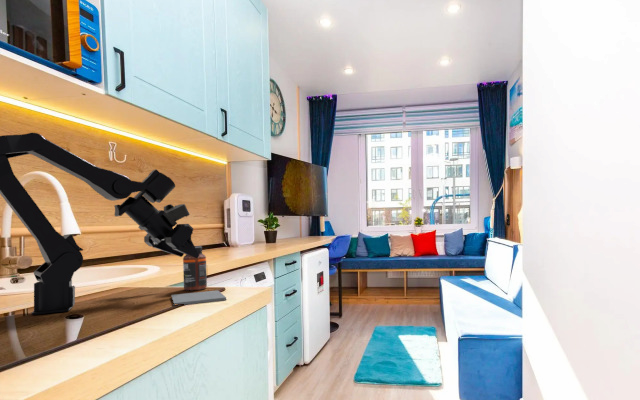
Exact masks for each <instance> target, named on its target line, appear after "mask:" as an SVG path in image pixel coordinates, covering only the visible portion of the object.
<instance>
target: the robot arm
mask: <svg viewBox="0 0 640 400" xmlns="http://www.w3.org/2000/svg"><path fill="white" fill-rule="evenodd" d="M26 155H33V156H34V157H36V158H37V159H38V158H39V159H40V160H43V162H47V163H48V164H50V165H52V166H54V167H56V168H57V169H60V170H62V171H63V172H66V173H68V174H69V175H70V176H71V175H72V176H73V177H76V178H77V179H79V180H81V181H83V182H84V183H85V184H86V185H89V187H90V188H92V190H93V191H95V192H96V193H97V194H99V195H100V196H102V198H104V199H105V200H108V201H113V202H115V201H119V200H124V199H125V200H124V201H123V202H122V203H121V204H114V217H121V216H122V215H124V214H126V215H127V216H128V217H129V218H131V220H133V221H134V222H135V223H136V224H137V225H138V227H137V228H138V229H139V230H141V231H144V232H146V234H145V236H144V237H143V238H144V239H143V242H144V243H145V244H146V245H148V247H152V248H153V249H157V250H160V251H162V252H166V253H169V254H171V255H175V256H177V257H180V258H182V257H184V256H185V255H186V254H187V255H189V256H191V257H194V258H198V257H199V253H198V252H197V250H196V248H195V247H196V246H195V244H194V242H193V241H192V235H193V233H194V232H193V231H194V228H193V227H192V226H191V225H190V224H189V223H178V222H177V221H179V220H181V219H183V218H185V217H186V218H187V217H189V216H190V212H189V210H188V208H187V205H186V204H185V203H181V204H177V205H173V204H171V203H170V204H167V205H165V206H163V210H162V209H160V210H159V209H158V208H156V207H155V206H154V205H153V204H155V202H156V203H161V202H162V201H163V200H164V199H165V198H166V197H167V196H168V195H169V194H170V193H171V192H172V191H173V190H174V189H175V188H176V184H175V182H174V181H173V179H172V178H170V176H167V175H166V174H164V173H163V172H160V171H159V170H158V169H153V170H151V171H150V172H149V173H148V175H147V177H145V178H144V179H143V180H142V181H136V180H132V179H131V178H129V176H126V175H124V174H121V173H118V172H115V171H113V170H110V169H105V168H102V167H98V166H97V165H95V164H92V163H91V162H89V161H87V160H85V159H84V158H81V157H79V156H78V155H76V154H74V153H72V152H71V151H69V150H67V149H65V148H63V147H62V146H60V145H58V144H56V143H54V142H53V141H50V140H49V139H47V138H45V137H44V136H43V135H42V134H40V133H38V132H28V133H25V134H24V133H23V134H6V135H0V195H1V197H2V198H3V199H4V201H5V202H6V203H7V205H8V206H9V208H10V209H11V210H12V211H13V212H14V214H15V215H16V216H17V218H18V219H19V220H20V222H22V224H23V226H24V227H25V228H26V230H28V232H29V233H30V234H31V236H32V237H33V238H34V240H35V241H36V243H37V246H38V248H39V251H40V254H41V257H42V258H43V260H44V262H43V263H42V264H41V265H40V266H39V267H38V268H36V269H35V270H34V272H33V275H34V277H35V279H36V282H35V283H33V311H32V312H31V315H32V316H34V315H44V314H54V313H63V312H64V313H65V312H69V311H70V310H71V309H72V308H73V307H74V306H75V305H76V286H75V285H73V276H74V274H75V272H77V271H78V270H79V269H80V268H81V267H82V265H83V263H84V256H83V254H82V252H83V251H84V249H83V248H81V247H80V246H79V245H78V244H77V242H76V240H75V238H74V236H73V235H72V234H63V235H62V234H60V233H59V232H58V231H57V230H56V229H55V227H54V226H53V225H52V223H51V222H50V221H49V219H48V218H47V217H46V216H45V214H44V213H43V211H42V210H41V209H40V207H39V206H38V205H37V204H36V202H35V201H34V199H33V198H32V196H31V195H30V194H29V193H28V192H27V190H26V189H25V187H24V186H23V184H22V183H21V182H20V180H19V179H18V177H17V176H16V175H15V174H14V172H13V169H12V166H11V163H10V161H9V159H12V158H16V157H17V158H18V157H21V156H26ZM133 193H134V194H135V193H137V194H136V195H135V196H131V195H132V194H133ZM81 251H82V252H81ZM184 254H185V255H184Z"/></svg>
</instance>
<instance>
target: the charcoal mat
mask: <svg viewBox="0 0 640 400" xmlns="http://www.w3.org/2000/svg"><path fill="white" fill-rule="evenodd" d="M171 297H172V298H171ZM171 297H170V298H171V301H172V300H173V301H172V303H174V304H173V306H174V305H175V304H184V305H183V306H186V305H194V304H204V303H213V302H221V301H227V297H226V296H225V295H224V294H223V293H222V292H221V291H219V290H210V291H209V290H207V291H199V292H198V291H197V292H189V293H188V292H187V293H186V292H185V293H177V294H171Z"/></svg>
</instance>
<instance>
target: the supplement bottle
mask: <svg viewBox="0 0 640 400" xmlns="http://www.w3.org/2000/svg"><path fill="white" fill-rule="evenodd" d="M195 248H196V250H197V252H198V253H199V257H198V258H194V257H191V256H189V255H187V254H185V255H183V256H182V257H183V258H182V262H183V263H182V267H183V268H182V269H183V270H182V271H183V289H184V290H185V291H189V290H190V291H193V290H194V291H201V290H205V289H207V286H208V284H207V283H208V280H207V279H208V277H207V256H206V255H205V254H204V253H203V246H201V245H200V246H195ZM190 291H189V292H190Z"/></svg>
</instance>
